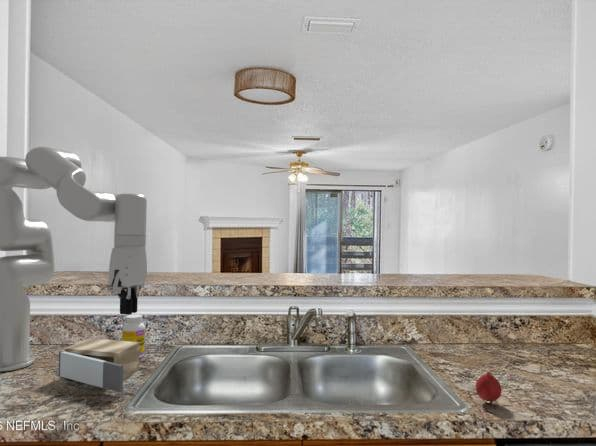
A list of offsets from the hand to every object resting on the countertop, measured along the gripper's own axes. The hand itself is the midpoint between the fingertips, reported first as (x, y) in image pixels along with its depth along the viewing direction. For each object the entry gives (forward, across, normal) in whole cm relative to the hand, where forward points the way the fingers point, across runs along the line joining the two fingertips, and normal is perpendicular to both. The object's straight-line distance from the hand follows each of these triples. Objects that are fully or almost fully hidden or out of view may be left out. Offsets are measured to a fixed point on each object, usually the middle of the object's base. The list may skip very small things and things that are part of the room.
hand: (128, 312), depth 107 cm
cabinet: (+19, -6, -12) cm, 23 cm away
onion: (+19, -16, +90) cm, 93 cm away
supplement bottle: (+19, -21, -13) cm, 31 cm away
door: (+18, +3, -9) cm, 20 cm away
